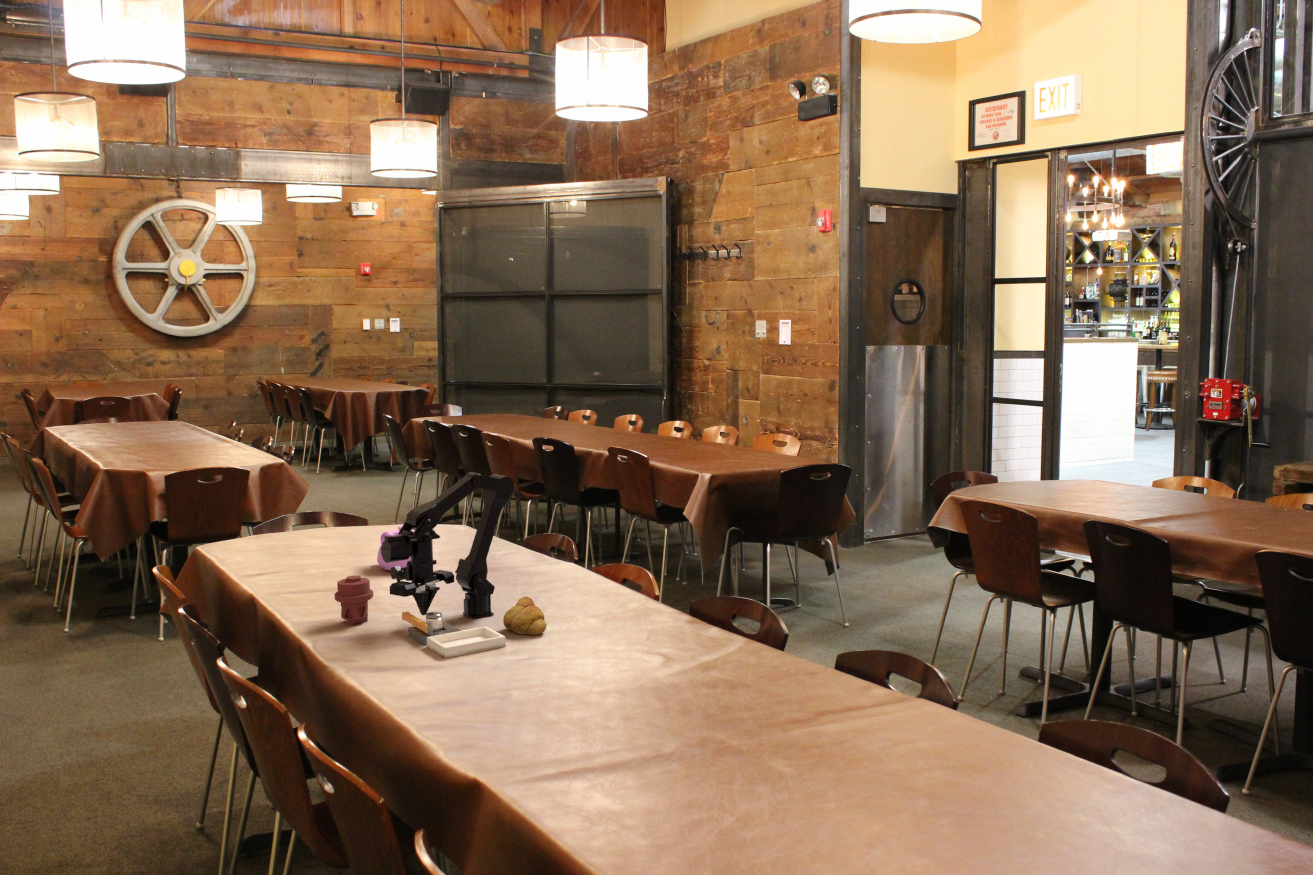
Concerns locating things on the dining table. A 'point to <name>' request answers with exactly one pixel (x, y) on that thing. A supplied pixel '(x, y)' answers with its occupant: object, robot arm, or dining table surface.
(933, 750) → the dining table surface
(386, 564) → the teapot
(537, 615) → the bread roll
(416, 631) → the hitch block
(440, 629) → the salt shaker
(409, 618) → the bar
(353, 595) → the mechanical component
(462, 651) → the tray
